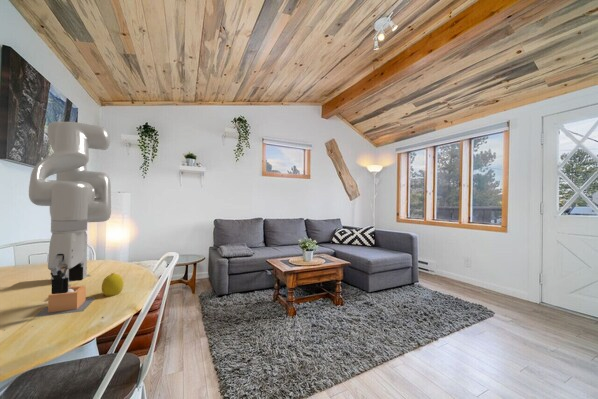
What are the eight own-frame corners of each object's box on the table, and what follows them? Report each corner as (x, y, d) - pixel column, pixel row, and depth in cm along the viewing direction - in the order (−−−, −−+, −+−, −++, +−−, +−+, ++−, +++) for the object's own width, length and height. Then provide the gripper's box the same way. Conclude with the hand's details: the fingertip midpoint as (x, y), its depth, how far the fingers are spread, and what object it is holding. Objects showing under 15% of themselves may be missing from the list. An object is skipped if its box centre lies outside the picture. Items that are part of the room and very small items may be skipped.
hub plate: (53, 306, 72) (54, 285, 72) (96, 302, 76) (96, 281, 76) (33, 323, 63) (33, 298, 63) (83, 316, 67) (83, 293, 67)
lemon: (111, 302, 76) (112, 276, 76) (96, 300, 77) (97, 274, 77) (127, 295, 82) (127, 271, 82) (113, 294, 83) (113, 270, 83)
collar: (59, 303, 71) (59, 287, 71) (85, 300, 74) (85, 285, 74) (48, 312, 66) (48, 295, 66) (76, 309, 68) (77, 292, 68)
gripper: (66, 222, 76) (65, 277, 77) (33, 231, 60) (32, 301, 61) (97, 222, 79) (95, 275, 80) (73, 230, 63) (71, 297, 64)
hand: (68, 286), depth 70 cm, fingers open, 9 cm apart
